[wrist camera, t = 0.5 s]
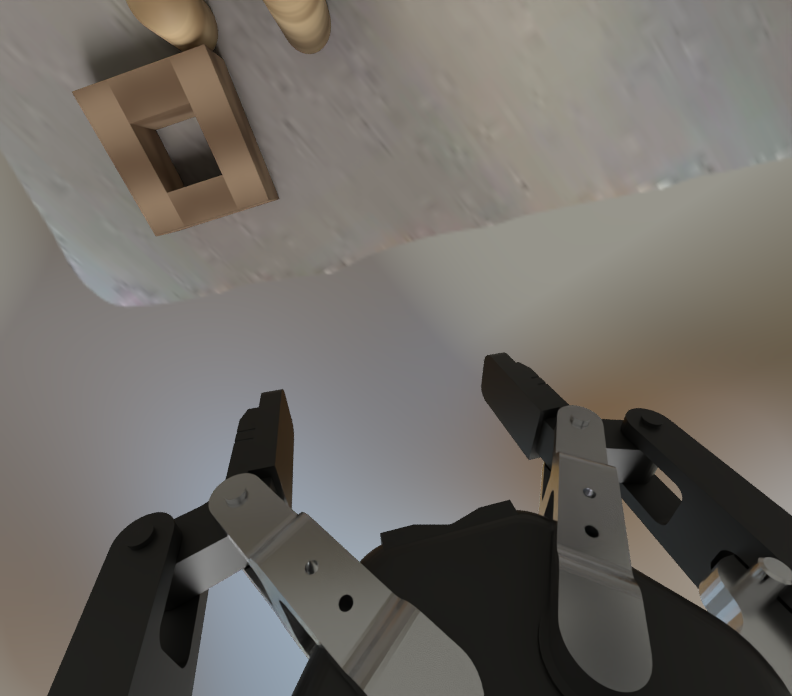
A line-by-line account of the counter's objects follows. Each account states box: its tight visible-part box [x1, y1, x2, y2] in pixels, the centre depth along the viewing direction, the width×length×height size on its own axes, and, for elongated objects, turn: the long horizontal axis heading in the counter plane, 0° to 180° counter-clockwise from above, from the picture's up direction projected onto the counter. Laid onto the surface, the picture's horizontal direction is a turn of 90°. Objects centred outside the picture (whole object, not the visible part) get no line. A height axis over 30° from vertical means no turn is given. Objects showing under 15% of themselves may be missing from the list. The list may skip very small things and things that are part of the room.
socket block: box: [72, 44, 279, 236], centre depth 29 cm, size 11×11×4 cm
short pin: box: [126, 0, 218, 52], centre depth 25 cm, size 4×4×5 cm
